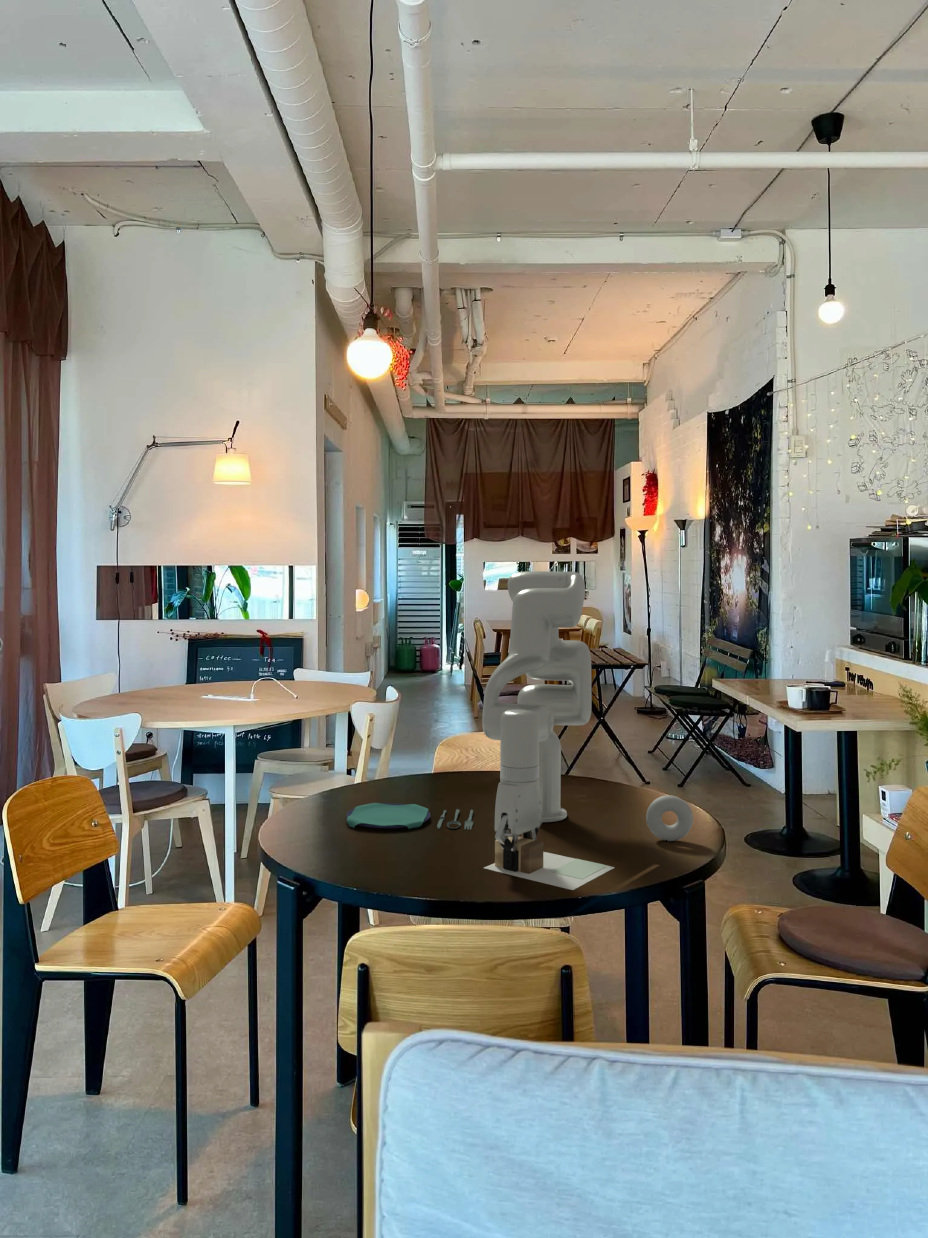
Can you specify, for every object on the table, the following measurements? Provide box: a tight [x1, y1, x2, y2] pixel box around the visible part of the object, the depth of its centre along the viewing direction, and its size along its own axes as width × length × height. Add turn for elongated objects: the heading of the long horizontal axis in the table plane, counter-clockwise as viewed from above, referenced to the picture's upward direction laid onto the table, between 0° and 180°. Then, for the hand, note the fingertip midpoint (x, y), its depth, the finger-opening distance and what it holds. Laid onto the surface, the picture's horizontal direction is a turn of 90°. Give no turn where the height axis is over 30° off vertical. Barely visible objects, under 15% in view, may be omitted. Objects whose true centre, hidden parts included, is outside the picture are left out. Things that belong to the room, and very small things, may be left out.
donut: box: [645, 794, 694, 842], centre depth 191 cm, size 10×4×10 cm, turn 80°
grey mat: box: [483, 851, 615, 891], centre depth 171 cm, size 20×16×1 cm
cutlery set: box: [345, 802, 474, 831], centre depth 207 cm, size 20×30×2 cm, turn 86°
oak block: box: [494, 836, 544, 874], centre depth 172 cm, size 8×5×5 cm, turn 53°
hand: (519, 865), depth 172 cm, fingers closed on oak block, 5 cm apart
